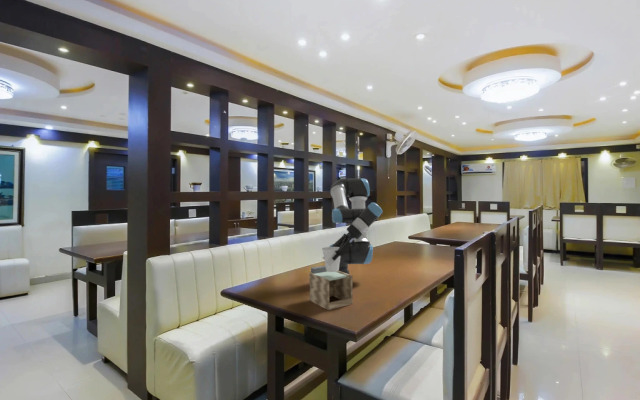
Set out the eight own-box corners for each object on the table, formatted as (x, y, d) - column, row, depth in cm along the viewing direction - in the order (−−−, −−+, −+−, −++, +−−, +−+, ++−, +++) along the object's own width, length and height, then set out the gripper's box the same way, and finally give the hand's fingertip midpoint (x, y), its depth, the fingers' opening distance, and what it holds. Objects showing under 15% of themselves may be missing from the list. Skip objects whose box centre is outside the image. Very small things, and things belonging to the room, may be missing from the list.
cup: (343, 268, 159) (342, 246, 159) (341, 273, 149) (341, 250, 149) (323, 268, 160) (323, 246, 160) (321, 273, 151) (320, 250, 150)
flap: (309, 274, 161) (308, 268, 161) (328, 271, 168) (328, 264, 168) (325, 281, 149) (325, 274, 149) (346, 277, 155) (346, 270, 155)
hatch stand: (309, 300, 159) (309, 273, 159) (333, 295, 167) (333, 268, 167) (328, 310, 146) (327, 280, 145) (352, 303, 154) (352, 275, 153)
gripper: (369, 237, 146) (335, 272, 144) (356, 231, 168) (327, 262, 166) (357, 225, 145) (324, 261, 143) (346, 221, 167) (317, 252, 165)
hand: (326, 261), depth 154 cm, fingers open, 10 cm apart
